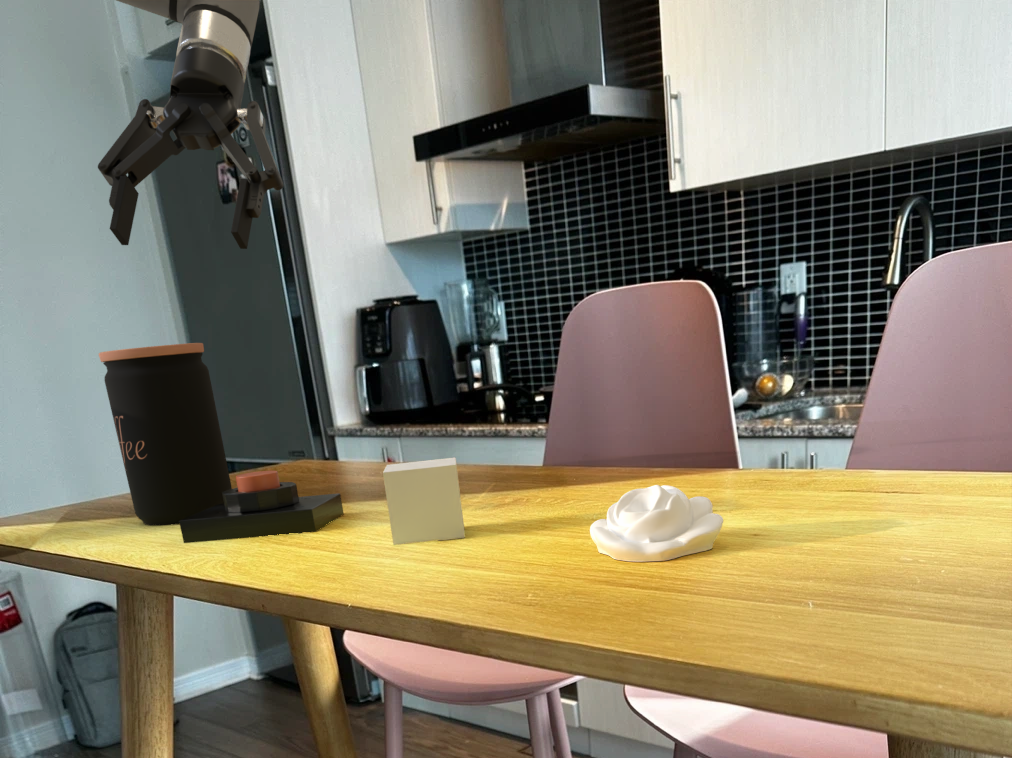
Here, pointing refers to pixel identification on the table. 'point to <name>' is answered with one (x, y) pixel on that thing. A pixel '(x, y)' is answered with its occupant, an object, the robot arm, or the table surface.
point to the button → (257, 481)
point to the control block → (262, 514)
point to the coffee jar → (167, 430)
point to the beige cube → (424, 501)
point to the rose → (656, 525)
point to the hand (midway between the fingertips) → (178, 239)
